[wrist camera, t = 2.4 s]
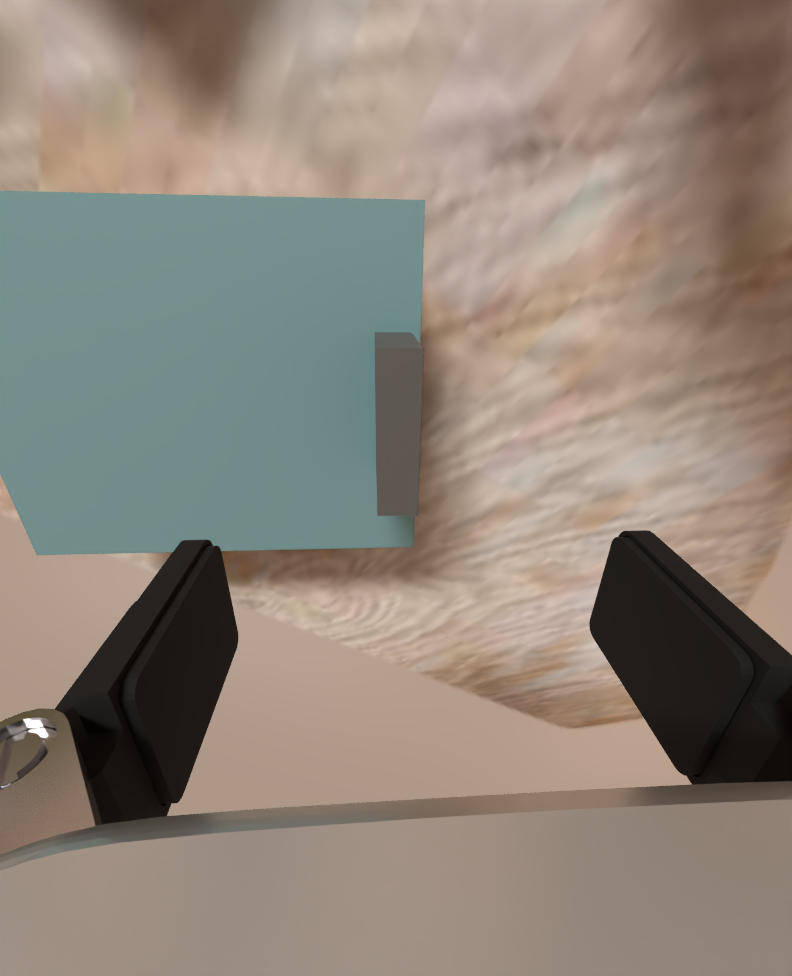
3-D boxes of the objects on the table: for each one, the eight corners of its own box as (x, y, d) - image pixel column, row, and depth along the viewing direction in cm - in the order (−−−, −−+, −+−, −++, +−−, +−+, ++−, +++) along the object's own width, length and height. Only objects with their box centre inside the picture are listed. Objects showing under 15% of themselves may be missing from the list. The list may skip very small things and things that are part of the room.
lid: (423, 202, 21) (444, 170, 15) (412, 540, 30) (422, 607, 24) (-110, 191, 20) (-327, 150, 13) (45, 548, 28) (-44, 620, 22)
